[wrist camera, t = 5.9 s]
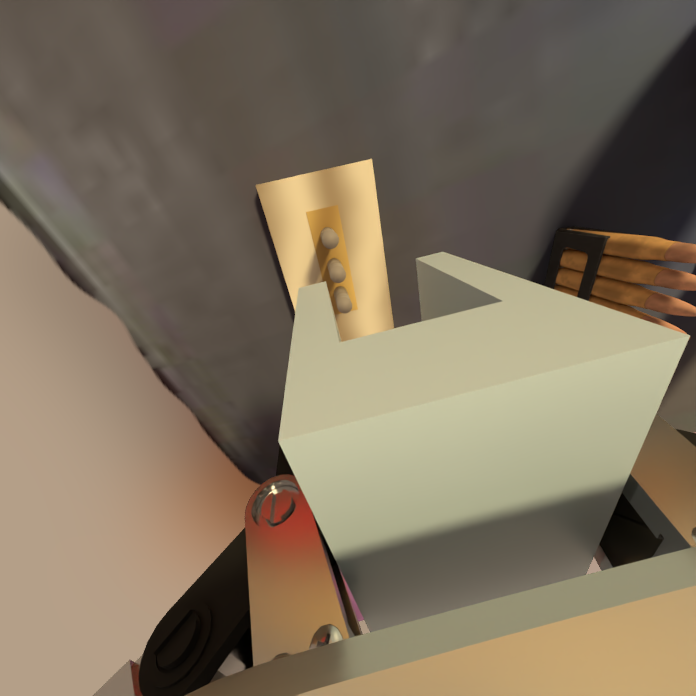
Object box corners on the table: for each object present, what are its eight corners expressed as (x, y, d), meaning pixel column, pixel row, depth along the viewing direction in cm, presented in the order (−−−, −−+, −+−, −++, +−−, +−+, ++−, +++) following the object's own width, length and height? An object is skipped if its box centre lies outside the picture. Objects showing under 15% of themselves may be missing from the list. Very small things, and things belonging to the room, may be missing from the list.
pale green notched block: (443, 251, 9) (690, 335, 3) (451, 428, 13) (568, 613, 7) (298, 288, 9) (277, 441, 3) (350, 454, 13) (384, 661, 7)
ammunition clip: (556, 228, 26) (725, 243, 15) (574, 226, 26) (755, 239, 15) (534, 330, 31) (649, 394, 20) (549, 327, 31) (672, 390, 20)
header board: (368, 161, 22) (383, 149, 17) (396, 368, 31) (411, 396, 26) (258, 186, 22) (243, 180, 17) (320, 386, 31) (321, 417, 26)
